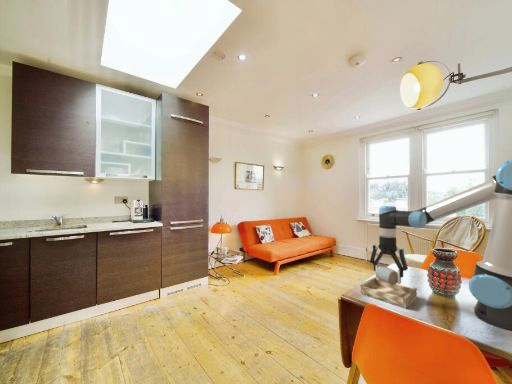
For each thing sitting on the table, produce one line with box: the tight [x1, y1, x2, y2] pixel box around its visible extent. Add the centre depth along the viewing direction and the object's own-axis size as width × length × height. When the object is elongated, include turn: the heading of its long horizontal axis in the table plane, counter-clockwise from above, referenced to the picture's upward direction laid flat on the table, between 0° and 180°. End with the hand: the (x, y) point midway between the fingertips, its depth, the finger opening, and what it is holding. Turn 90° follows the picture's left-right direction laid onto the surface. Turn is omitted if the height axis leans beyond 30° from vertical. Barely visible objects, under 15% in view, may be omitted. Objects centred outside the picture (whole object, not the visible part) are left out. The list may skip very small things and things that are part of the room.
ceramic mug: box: [375, 265, 398, 285], centre depth 112 cm, size 11×8×8 cm
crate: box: [359, 276, 418, 309], centre depth 112 cm, size 20×17×5 cm
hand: (388, 280), depth 112 cm, fingers closed on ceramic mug, 9 cm apart
